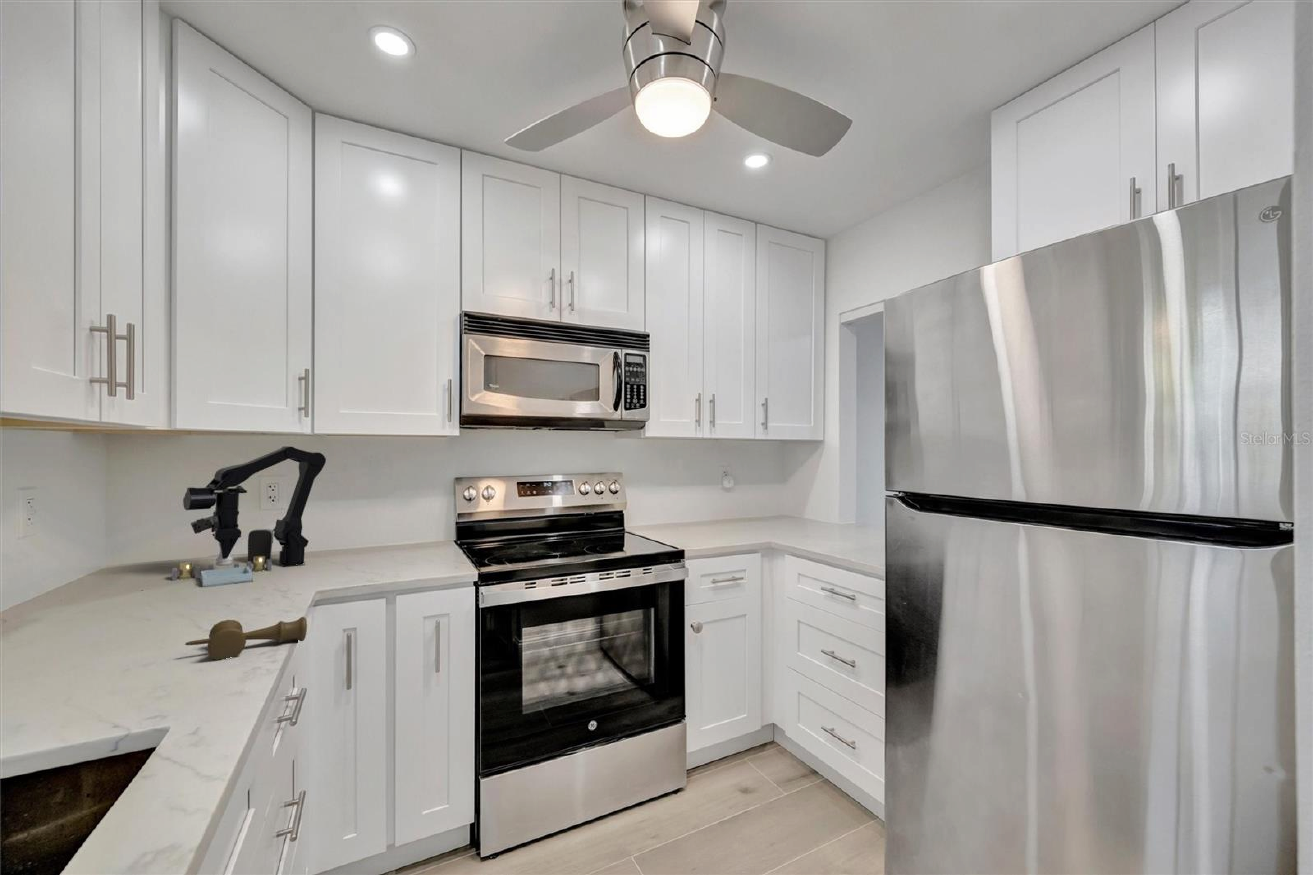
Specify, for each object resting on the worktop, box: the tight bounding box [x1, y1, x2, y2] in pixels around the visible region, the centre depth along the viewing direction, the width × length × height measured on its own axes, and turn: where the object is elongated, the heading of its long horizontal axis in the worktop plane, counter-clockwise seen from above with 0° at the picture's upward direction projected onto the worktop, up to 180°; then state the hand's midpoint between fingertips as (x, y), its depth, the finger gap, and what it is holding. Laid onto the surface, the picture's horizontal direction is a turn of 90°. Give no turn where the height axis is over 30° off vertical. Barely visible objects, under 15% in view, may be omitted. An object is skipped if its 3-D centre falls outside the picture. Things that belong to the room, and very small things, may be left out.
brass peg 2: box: [252, 556, 266, 573], centre depth 177 cm, size 3×3×4 cm
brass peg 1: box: [178, 561, 194, 580], centre depth 165 cm, size 3×3×4 cm
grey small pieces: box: [171, 559, 273, 581], centre depth 171 cm, size 24×4×3 cm, turn 133°
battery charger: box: [246, 528, 274, 564], centre depth 189 cm, size 7×4×11 cm, turn 113°
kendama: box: [184, 616, 308, 660], centre depth 111 cm, size 6×10×20 cm
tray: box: [200, 566, 254, 588], centre depth 163 cm, size 12×12×2 cm
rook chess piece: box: [215, 542, 234, 566], centre depth 171 cm, size 4×4×8 cm
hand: (224, 557), depth 171 cm, fingers closed on rook chess piece, 3 cm apart
